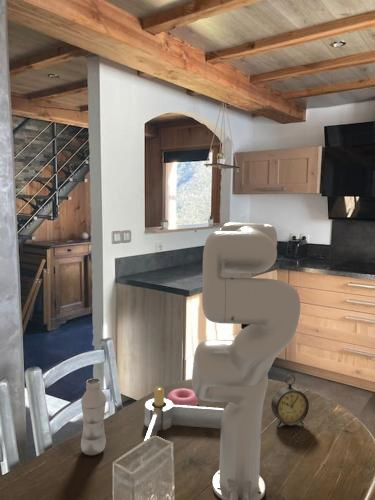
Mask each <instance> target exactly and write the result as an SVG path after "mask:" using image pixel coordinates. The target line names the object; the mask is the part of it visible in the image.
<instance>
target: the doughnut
mask: <svg viewBox="0 0 375 500" xmlns="http://www.w3.org/2000/svg"><path fill="white" fill-rule="evenodd" d="M166 399H168V400H170V401H171V402H173V405H184V406H198V404H199V401H200V400H199V399H198V398H197V397H196V396H195V394H194V391H193V389H190V388H187V387H186V388H185V387H184V388H183V387H181V388H178V387H177V388H174V389H172V390H171V391H169V392H168V394H167V396H166Z"/></svg>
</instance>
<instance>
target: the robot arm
mask: <svg viewBox="0 0 375 500" xmlns="http://www.w3.org/2000/svg"><path fill="white" fill-rule="evenodd" d="M277 247H278V234H277V230H276V228H275V227H274V225H271V224H269V223H268V224H267V223H259V222H258V223H255V222H251V223H250V222H238V221H236V222H235V221H233V222H226V223H224V224H223V225H222V226H221V228H219V230H218V231H217V230H216V231H214V232H211V233H210V234H209V235H208V236H207V237H206V239H205V243H204V246H203V254H202V287H201V288H202V291H201V292H202V293H201V294H202V297H201V301H202V306H201V307H202V311H203V315H204V317H205V318H206V319H207V320H208V321H209V322H212V323H214V324H227V325H228V324H231V325H232V324H235V325H240V326H241V327H240V328H241V330H240V331H239V332H238V333H237V334H236V336H235V338H234V340H233V339H229V340H227V339H207V340H204V341H201V342H200V343H198V345H197V347H196V348H195V351H194V356H193V361H192V363H193V364H192V374H191V375H192V376H191V384H192V390H193V391H194V394H195V396H196V397H197V398H198V399H199V401H202V402H217V403H218V402H220V403H222V402H224V403H225V402H227V405H226V406H225V408H224V411H223V414H222V418H221V429H220V437H219V440H220V441H219V446H220V447H219V467H218V469H219V470H218V471H217V472H215V474H214V475H213V478H212V484H211V485H212V489H213V492H214V493H215V495H216V496H217V497H218V498H220V499H221V500H262V499H263V497H264V496H265V493H266V483H265V481H264V479H263V478H262V477H261V475H260V466H261V465H260V462H261V444H262V442H261V441H262V429H263V428H262V424H263V412H264V405H265V398H266V395H267V390H268V383H269V375H268V373H269V372H270V369H271V368H272V365H273V363H274V362H275V359H276V358H278V357H279V355H280V354H281V353H282V352H283V351H284V350H285V349H286V348H287V347H288V345H289V344H290V343H291V342H292V339H293V338H294V336H295V335H296V331H297V328H298V324H299V322H300V315H301V299H300V295H299V293H298V290H297V289H296V288H295V287H294V286H292V285H291V284H289V282H285V281H283V280H279V279H274V278H273V279H272V278H264V277H263V278H257V277H252V274H259V273H260V274H261V273H264V272H266V271H267V270H269V269H271V268H272V266H273V265H274V264H275V263H276V260H277V257H278V251H277V250H278V249H277Z"/></svg>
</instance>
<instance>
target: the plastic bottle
mask: <svg viewBox="0 0 375 500" xmlns="http://www.w3.org/2000/svg"><path fill="white" fill-rule="evenodd" d="M101 382H102V381H101V379H100V378H98V377H97V378H96V377H95V378H89V379H87V380H86V382H85V383H86V386H85V389H86V391H84V393H83V396H82V397H81V399H80V401H81V402H80V404H81V411H82V422H83V427H82V435H81V440H80V447H81V451H82V453H83V454H84V455H86V456H96V455H99V454H101V453H102V452H103V451H104V449H105V447H106V444H107V440H106V439H107V437H106V434H105V424H104V419H105V409H106V404H107V398H106V394H105V393H104V391H102V389H101V388H102V384H101Z"/></svg>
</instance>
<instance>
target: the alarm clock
mask: <svg viewBox="0 0 375 500" xmlns="http://www.w3.org/2000/svg"><path fill="white" fill-rule="evenodd" d="M291 376H292V377H293V382H292V383H291V382H289V383H288V382H287V380H288V378H289V377H291ZM295 381H296V376H295V375H293V374H289V375H287V376H286V377H285V383H286V385H287V386H284V387H281V388H280V389H278V390H277V391H276V392H274V395H273V397H272V399H271V402H270V403H271V411H272V414H273V415H274V417H276V418H277V419H278V421H279V422H278V424H277V426H276V428H277V429H278V428H279V426H281V424H283V425H286V426H288V427H289V426H291V427H292V426H296V425H298V424H300V423H301V425H304V422H303V421H304V420H305V419H306V417H307V416H308V413H309V410H310V409H309V408H310V403H309V402H310V401H309V399H308V398H307V396H306V394H305V393H304V392H302V391H301V390H299V388H297V387H294V386H292V385H294V384H295Z"/></svg>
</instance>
